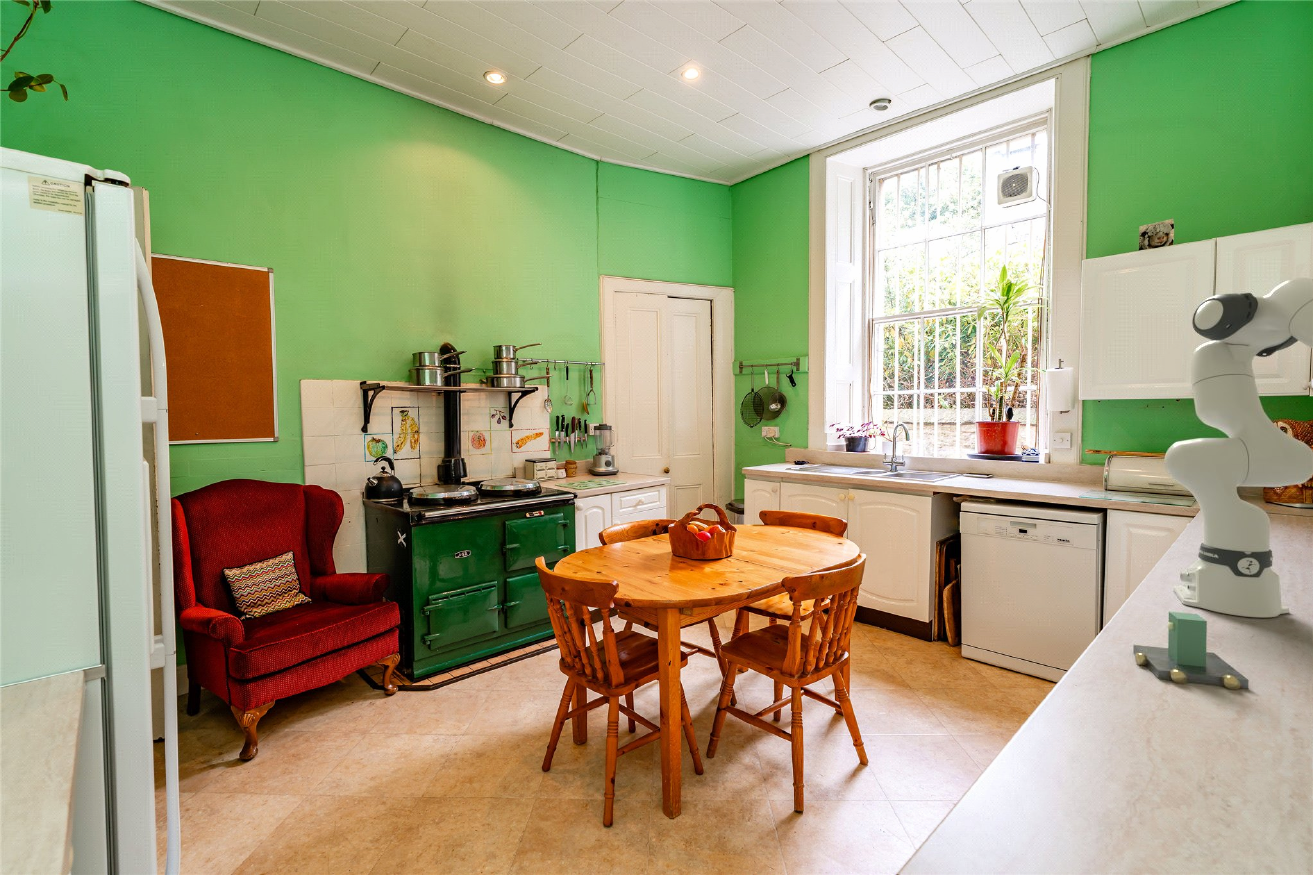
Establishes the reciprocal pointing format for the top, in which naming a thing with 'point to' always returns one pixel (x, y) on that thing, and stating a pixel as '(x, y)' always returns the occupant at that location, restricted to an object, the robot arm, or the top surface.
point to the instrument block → (1187, 639)
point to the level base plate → (1189, 668)
